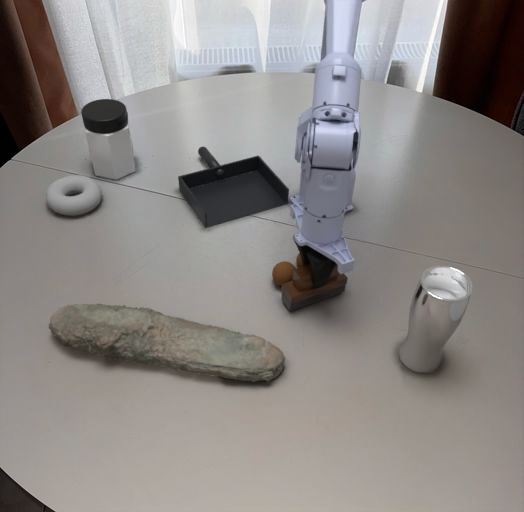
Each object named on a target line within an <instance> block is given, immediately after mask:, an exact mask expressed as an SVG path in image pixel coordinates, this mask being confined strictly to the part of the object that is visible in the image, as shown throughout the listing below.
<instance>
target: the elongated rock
mask: <svg viewBox="0 0 524 512" xmlns="http://www.w3.org/2000/svg"><path fill="white" fill-rule="evenodd" d="M48 329H49V330H50V333H51V334H53V335H55V336H56V337H57V338H58V340H60V341H61V343H62V345H63V346H65V347H69V346H70V347H72V348H74V349H76V350H81V351H85V352H87V353H93V354H95V355H98V357H103V356H104V357H105V358H108V360H109V362H113V361H115V360H119V361H122V362H126V361H130V362H135V363H138V364H139V363H140V364H143V365H151V366H161V367H165V368H169V369H172V370H177V371H181V372H184V373H185V372H188V373H190V374H193V375H194V374H195V375H198V374H199V375H204V376H213V377H219V378H225V379H231V380H235V381H242V382H246V381H248V382H252V383H255V382H258V381H265V382H270V381H271V380H273V379H276V378H277V377H278V376H279V375H280V374H281V373H282V372H283V370H284V367H285V364H286V356H284V353H283V351H282V350H281V349H280V348H279V347H278V346H276V345H274V344H273V343H272V342H270V341H268V340H266V339H265V338H262V337H261V336H257V335H255V334H247V333H241V332H238V331H234V330H230V329H228V328H225V327H220V326H216V325H211V324H204V323H200V322H197V321H193V320H190V319H189V320H188V319H185V318H183V317H182V318H181V317H178V316H177V317H176V316H172V315H166V314H163V312H160V311H156V310H155V309H152V308H150V307H143V306H142V307H141V306H140V307H139V308H138V307H132V306H126V305H125V304H123V305H119V304H118V305H117V304H115V305H111V304H103V303H95V304H92V303H79V304H77V303H76V304H68V305H65V306H62V307H60V308H58V309H56V310H55V311H54V312H53V313H52V315H51V317H50V319H49V324H48Z"/></svg>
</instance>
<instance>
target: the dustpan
mask: <svg viewBox="0 0 524 512" xmlns="http://www.w3.org/2000/svg"><path fill="white" fill-rule="evenodd" d="M197 153H198V155H199V157H200V158H201V159H202V161H203V162H204V163H205V165H206V166H207V167H208V168H205V169H201V170H197V171H194V172H190V173H186V174H182V175H178V176H177V180H178V189H179V190H178V191H179V192H180V194H181V195H182V197H183V198H184V199H185V202H187V204H188V205H189V207H190V208H191V209H192V211H193V212H194V214H195V215H196V216H197V218H198V219H199V221H200V222H201V224H202V225H203V226H204V228H205V229H207V228H210V227H214V226H217V225H220V224H223V223H227V222H230V221H233V220H238V219H241V218H244V217H248V216H251V215H255V214H257V213H262V212H264V211H268V210H271V209H274V208H278V207H281V206H285V205H288V204H289V199H290V196H289V195H290V188H289V187H288V186H287V185H286V184H285V183H284V181H282V179H281V178H279V175H277V174H276V173H275V172H274V170H272V168H271V167H270V166H269V165H268V164H267V163H266V162H265V160H263V158H262V157H261V156H260V155H255V156H251V157H248V158H247V157H246V158H243V159H238V160H236V161H232V162H228V163H224V164H220V162H219V161H218V160H217V159H216V158H215V157H214V155H213V154H212V153H211V152H210V150H209V149H208V148H207V147H206V146H200V147H199V148H198V150H197Z"/></svg>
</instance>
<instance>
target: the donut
mask: <svg viewBox="0 0 524 512" xmlns="http://www.w3.org/2000/svg"><path fill="white" fill-rule="evenodd" d="M102 197H103V193H102V188H101V186H100V185H99V183H98V182H97V180H95V179H93V178H91V177H89V176H86V175H82V174H80V175H79V174H71V175H66V176H63V177H60V178H58V179H56V180H54V181H53V182H52V183H51V184H50V185H49V186H48V187H47V190H46V192H45V201H46V204H47V205H48V207H49V208H50V209H51V210H52V211H53V212H55V213H57V214H60V215H63V216H71V217H72V216H73V217H74V216H81V215H84V214H87V213H89V212H91V211H93V210H94V209H95V208H97V207H98V205H100V202H101V200H102Z"/></svg>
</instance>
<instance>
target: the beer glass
mask: <svg viewBox="0 0 524 512" xmlns="http://www.w3.org/2000/svg"><path fill="white" fill-rule="evenodd" d="M473 285H474V284H473V282H472V279H470V277H469V276H468V275H467V273H465V272H464V271H462V270H460V269H458V268H456V267H453V266H451V265H450V266H449V265H444V264H443V265H433V266H430V267H428V268H426V269H424V271H423V272H422V273H421V275H420V278H419V280H418V283H417V285H416V287H415V290H414V292H413V296H412V298H411V303H410V306H409V311H408V325H407V326H408V327H407V335H406V338H405V340H404V342H403V343H402V344H401V346H400V348H399V349H398V357H399V360H400V362H401V364H403V366H404V367H406V368H407V369H409V370H410V371H412V372H415V373H419V374H427V373H429V374H430V373H432V372H434V371H436V370H437V369H438V368H439V366H440V365H441V362H442V357H443V350H444V347H445V346H446V344H447V343H448V341H449V340H450V338H451V337H452V336H453V334H454V333H455V332H456V331H457V329H458V327H459V326H460V324H461V322H462V320H463V318H464V315H465V314H466V311H467V308H468V305H469V302H470V298H471V295H472V292H473V290H474V289H473V288H474V286H473Z"/></svg>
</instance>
